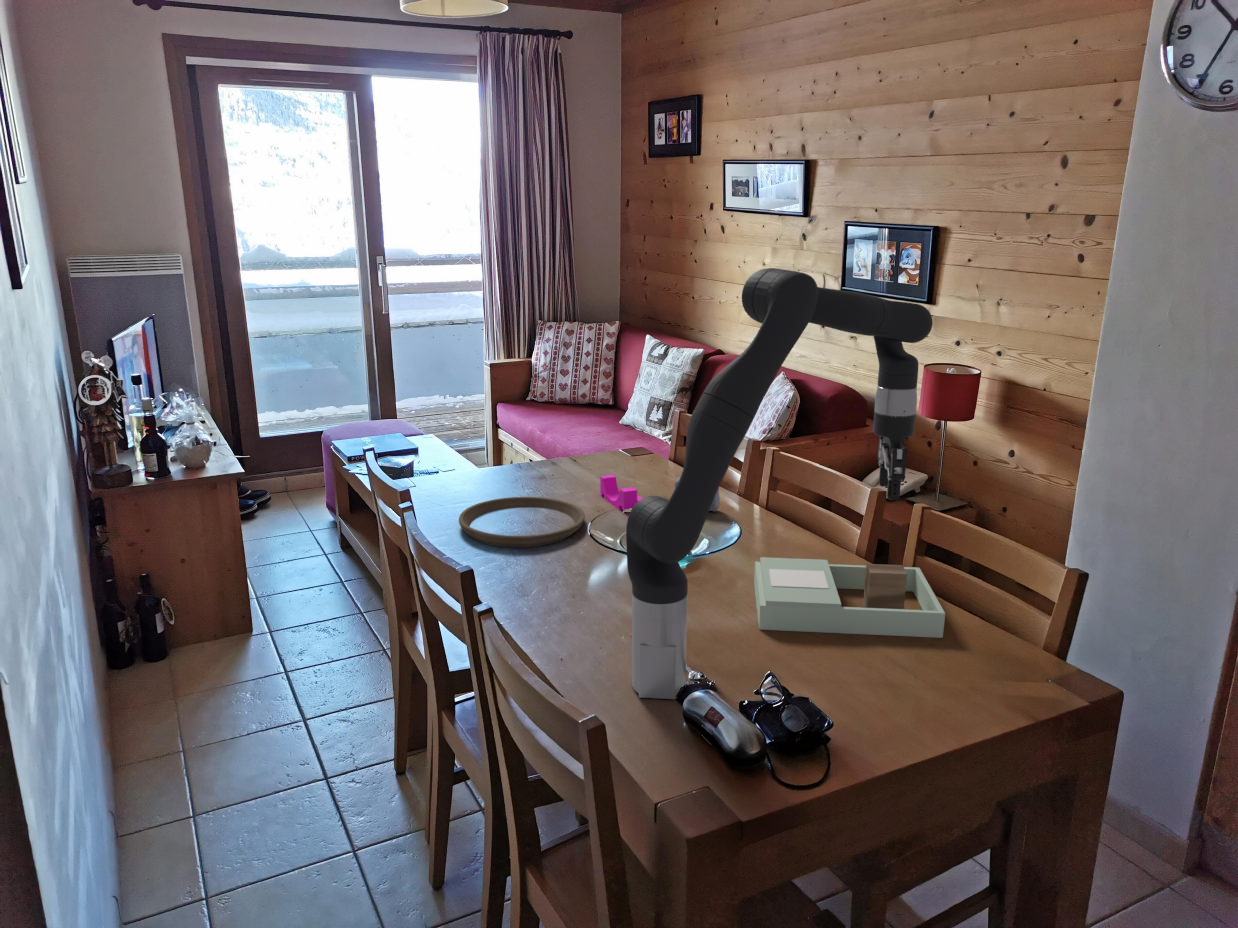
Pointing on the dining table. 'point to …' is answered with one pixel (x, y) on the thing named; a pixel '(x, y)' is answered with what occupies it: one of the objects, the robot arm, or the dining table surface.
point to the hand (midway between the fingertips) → (888, 491)
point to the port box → (836, 600)
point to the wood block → (884, 586)
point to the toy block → (618, 493)
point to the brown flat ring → (512, 502)
